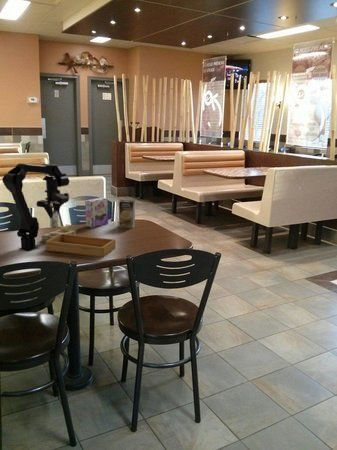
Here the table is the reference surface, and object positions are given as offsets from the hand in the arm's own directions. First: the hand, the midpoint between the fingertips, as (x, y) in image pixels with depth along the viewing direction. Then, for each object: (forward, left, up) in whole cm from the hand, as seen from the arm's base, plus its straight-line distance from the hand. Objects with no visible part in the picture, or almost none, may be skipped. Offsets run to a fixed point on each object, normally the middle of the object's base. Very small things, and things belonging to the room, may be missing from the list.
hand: (53, 217), depth 216 cm
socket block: (+3, 0, -13) cm, 13 cm away
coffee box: (+43, -19, -13) cm, 49 cm away
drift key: (+8, 0, -12) cm, 15 cm away
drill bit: (0, 0, -6) cm, 6 cm away
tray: (-7, -23, -13) cm, 28 cm away
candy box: (+37, -1, -13) cm, 40 cm away
